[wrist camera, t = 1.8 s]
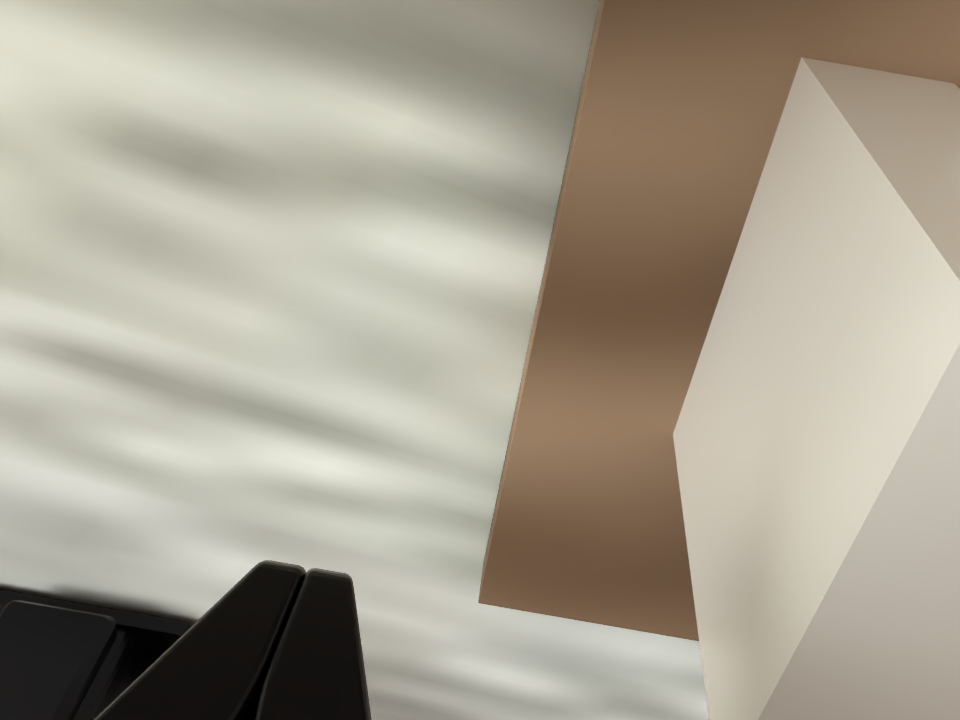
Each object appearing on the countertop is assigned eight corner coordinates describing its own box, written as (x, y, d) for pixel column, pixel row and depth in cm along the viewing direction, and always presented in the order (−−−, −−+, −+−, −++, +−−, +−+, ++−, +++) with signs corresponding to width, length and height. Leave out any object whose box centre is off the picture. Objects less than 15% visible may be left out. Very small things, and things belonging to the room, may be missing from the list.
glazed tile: (797, 456, 17) (908, 826, 11) (672, 434, 17) (718, 793, 11) (964, 85, 13) (1277, 360, 7) (801, 57, 13) (978, 308, 7)
